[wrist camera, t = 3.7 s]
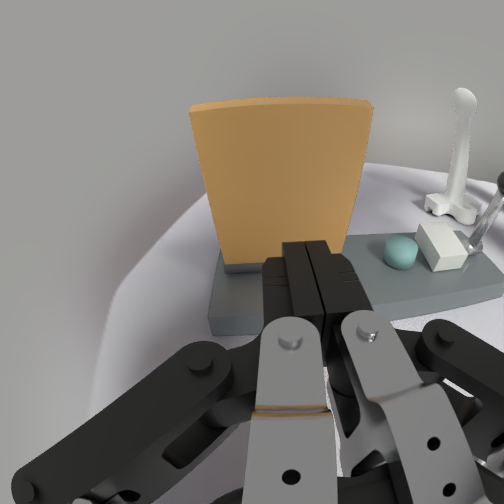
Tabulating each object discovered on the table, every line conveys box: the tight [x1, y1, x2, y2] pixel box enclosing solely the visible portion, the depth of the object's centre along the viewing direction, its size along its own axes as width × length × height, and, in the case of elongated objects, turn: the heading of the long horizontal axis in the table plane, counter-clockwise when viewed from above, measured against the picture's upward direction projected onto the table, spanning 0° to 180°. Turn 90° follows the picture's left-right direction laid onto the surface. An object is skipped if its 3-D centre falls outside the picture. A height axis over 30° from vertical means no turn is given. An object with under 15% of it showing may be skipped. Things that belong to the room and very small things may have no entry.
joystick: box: [424, 88, 482, 225], centre depth 28 cm, size 11×8×20 cm
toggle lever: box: [460, 172, 504, 255], centre depth 18 cm, size 3×2×10 cm
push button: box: [383, 235, 418, 269], centre depth 21 cm, size 3×3×2 cm
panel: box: [208, 231, 504, 336], centre depth 23 cm, size 28×10×2 cm, turn 90°
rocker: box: [414, 223, 468, 272], centre depth 21 cm, size 4×4×2 cm
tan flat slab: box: [189, 97, 374, 274], centre depth 17 cm, size 9×2×14 cm, turn 90°
